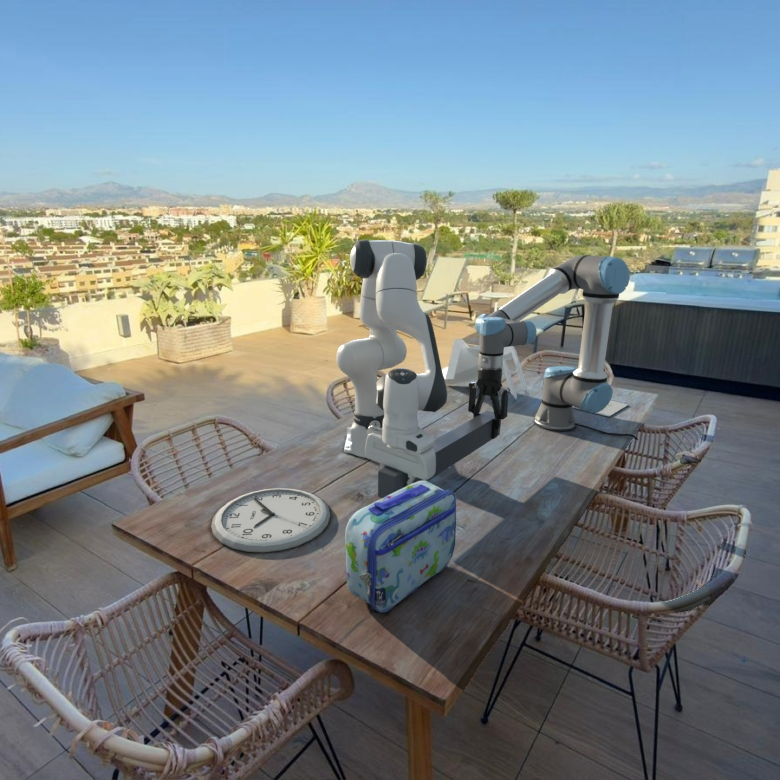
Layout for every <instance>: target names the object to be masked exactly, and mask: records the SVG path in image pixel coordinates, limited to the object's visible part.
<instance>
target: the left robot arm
mask: <svg viewBox="0 0 780 780" xmlns="http://www.w3.org/2000/svg"><path fill="white" fill-rule="evenodd" d="M426 251H427V250H426V249H425V247H424V246H423V245H420V244H417V243H414V242H411V243H410V242H404V241H398V240H370V239H360V240H357V241H356V242H355V243H354V244H353V246H352V249H351V251H350V254H349V263H350V268H351V271H352V273H353V274H354V275H355V276H356V277H359V278H361V279H362V282H361V290H360V300H359V308H358V309H359V310H358V318H359V320H360V322H361V323H362V324H363V325H364V326H365V327H367V328H368V330H369V336H368V337H365V338H360V339H354V340H350V341H347V342H345V343H343V344H341V345H340V346H339V347H338V348H337V351H336V355H335V361H336V365H337V367H338V369H339V370H340V371H341V372H342V373H343V374H344V375H346V376H347V377H348V378H349V379H350V381H351V383H352V386H353V390H354V402H355V404H354V406H355V408H354V410H353V422H352V424H351V426H349V427H346V438H345V444H344V449H343V452H344V453H346V454H351V455H354V456H356V457H358V458H365V459H368V460H370V461H373V462H376V463H379V468H380V470H381V469H382V468H384V467H386V466H389V467H391V468H394V469H396V470H399V471H402V472H404V473H407V474H408V477H410V478H409V479H407V480H406V481H404V487H406V486H409V485H411V484H413V480H414V479H415V478H416V477H417V478H420V479H422V480H428V479H430V478H431V477H432V476H433V475H434V474H435V471H436V455H435V451H434V449H433V448H432V447H433V446H434V445H435V439H436V438H434V437H433V436H431V435H430V434H429V433H428V432H426V431H425V430H424V429H422V428H421V427H420V425H419V420H418V412H419V411H422V412H429V413H430V412H431V413H436V412H438V411H439V410H440V409H442V408H443V407H444V406H445V405H446V404H447V402H448V387H447V385H446V383H445V380H444V376H443V373H442V369H443V368H442V364H441V360H440V359H441V358H440V355H439V354H440V353H439V350H438V344H437V339H436V335H435V330H434V327H433V322H432V319H431V317H430V315H429V314H427V313H426V312H425V311H424V310H423V309H422V308H421V305H420V304H419V300H418V286H417V280H420V279H421V278H422V277H423V276H424V275H425V273H426V270H427V266H428V257H427V252H426ZM397 331H399V332H401V333H404V334H406V335H409V336H410V337H412V338H414V339H415V340H416V341H417V343H418V344H419V347H420V351H421V357H422V361H423V367H424V372H423V373H416V372H415V371H414V370H412V369H409V368H404V367H398V368H394V367H396V366H398V365H400V364H402V363H403V362H405V360H406V358H407V353H408V352H407V350H408V349H407V345H406V342H405V341H404V340H403V339H402V338H401V337H400V335H399V334H398V332H397ZM391 368H393V369H391ZM387 369H391V370H389V371H388V372H387V373H384V374H383V375H381V376H380V378H378V375H377V373H378V371H382V370H387Z"/></svg>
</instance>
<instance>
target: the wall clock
mask: <svg viewBox="0 0 780 780" xmlns="http://www.w3.org/2000/svg"><path fill="white" fill-rule="evenodd" d="M330 518H331V512H330V507H329V506H328V505H327V503H326V502H325V501H324V500H323V499H322V498H321V497H318V496H317V495H315V494H313V493H310V492H308V491H305V490H300V489H295V488H286V487H285V488H284V487H283V488H281V487H275V488H267V489H266V488H264V489H261V490H260V489H259V490H255V491H251V492H248V493H245V494H243V495H242V494H241V495H239V496H237V497H235V498H234V499H232V500H230V501H228V502H227V503H226V504H224V505H223V506H222V507H220V508H219V509H218V510H217V511H216V513H215V515H214V516H213V517H212V521H211V526H210V528H211V531H212V534H213V536H214V538H216V540H217V541H219V542H220V544H223V545H224V546H227V547H229V548H230V549H232V550H233V549H234V550H237V551H242V552H245V553H246V552H247V553H270V552H280V551H285V550H288V549H292V548H295V547H298V546H301V545H304V544H305V543H308V542H309V541H312V540H313V539H314V538H316V537H318V536H319V535H320V534H322V533H323V531H325V529H326V528H327V526H328V525H329V522H330Z"/></svg>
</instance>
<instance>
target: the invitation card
mask: <svg viewBox="0 0 780 780" xmlns="http://www.w3.org/2000/svg"><path fill="white" fill-rule="evenodd" d="M628 406H629V404H627V403H623V402H618V401H614V400H610V402H609V404H608V405H607V406H606V407H605V408H604V409H603V410H602V411H600V412H597V413H595V414H596V415H600V416H604V417H608V418H609V417H611V416H613V415H614V414H616V413H617V412H619V411H621V410H623V409H624V408H626V407H628ZM573 409H575V410H581V411H583V410H582V409H579V408H577V407H574V406H573Z"/></svg>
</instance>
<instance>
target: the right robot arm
mask: <svg viewBox="0 0 780 780" xmlns="http://www.w3.org/2000/svg"><path fill="white" fill-rule="evenodd" d="M630 276H631V274H630V269H629V266H628V265H627V263H626V262H625V261H624V259H622V258H620V257H616V256H610V255H590V254H581V255H576V256H574V257H572V258H569V259H567V260H565V261H563V262H562V263H560V264H558V265H556V266H555V267H553V268H552V269H550V270H549V271H548V273H547V275H546V276H545V277H544V278H542V279H541V280H539V281H538V282H537V283H535V284H534V285H532V286H531V287H529V288H528V289H526V290H525V291H523V292H521V294H519V295H517V296H516V297H515V298H513V299H512V300H510V301H508V302H507V303H505V304H504V305H503V306H500V308H498V309H497V310H495V312H494V311H493V312H494V313H493V312H492V313H482V314H480V315H479V316H478V317H477V318H476V320H475V323H474V328H475V332H476V333H477V334H479V363H478V365H479V366H480V367H479V368H478V380H477V382H474V381H473V382H468V389H469V397H468V406H467V408H468V409H467V411H468V412H469V413H472V414H473V418H475V417H476V416H478V415H480V414H481V409H482V406H483V403H484V401H485V398H486V396H488V397H489V399H490V401H491V405H492V409H493V412H494V415H495V419H493V424H492V440H494V439H496V438H497V437H498V436H497V434H498V429H499V428H500V429H501V425H502V420H505V419H506V418H508V409H509V394H510V393H511V392H510V389H509V387H508V388H506V387H504V386H503V384H502V378H503V367H502V366H503V353H504V347H510V346H514V347H517V346H526V345H530V344H532V343H534V341H535V340H536V338H537V333H538V331H537V327H536V325H535V324H534V323H533V322H532V321H530V320H524V319H525V318H527V317H528V316H529V315H531V314H532V313H534V312H536V311H537V310H538V309H540V308H541V307H543V306H544V305H546V304H547V303H548V302H550V301H552V300H553V299H554V298H556V297H557V296H558V295H564V294H566V293H568V292H569V291H571V290H577V289H578V290H582V296H581V297H582V298H583V299H584V300H585V310H584V317H583V324H582V325H583V326H582V332H581V333H582V334H581V341H580V348H579V357H578V365H577V367H574V366H566V365H565V366H564V365H557V366H550V367H547V368H546V369H545V370H544V375H543V381H542V392H541V402H540V405H539V407H538V410H537V411H536V413H535V417H534V424H535V425H536V426H537V427H539V428H542V429H544V430H549V431H556V432H567V431H572V430H574V429H575V428H576V426H578V427H581V428H583V429H584V428H585V429H587V430H592V431H594V432H598V433H601V434H605V435H607V436H608V435H609V436H620V437H632V438H633V439H634V440H636V441H638V440H639V438H638V437H637V436H636V435H634V434H631V433H618V432H608V431H604V430H600V429H597V428H594V427H591V426H588V425H584V424H581V423H577V422H576V418H575V417H576V416H575V413H574V407H577V408H579V409H578V410H580V409H582V410H581V411H583V412H587V413H590V414H596V413H597V412H600V411H602V410H603V409H604V408H605V407H606V406H607V405H608V404H609V402H610V401H612V397H613V394H614V393H613V391H614V390H613V388H612V386H611V384H609V383H608V382H607V381H608V374H607V373H606V371H605V370H604V369H605V363H606V355H607V350H608V341H609V334H610V327H611V321H612V315H613V307H614V303H615V302H616V301H617V300H618V299H619V298H620V294H622V293H624V292H625V290H626V289H627V287H628V285H629V283H630ZM477 389H478V390H479V392H478V395H477V391H478V390H477ZM499 392H500V395H501V397H500V395H499ZM499 397H500V399H499ZM473 418H472V419H473Z"/></svg>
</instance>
